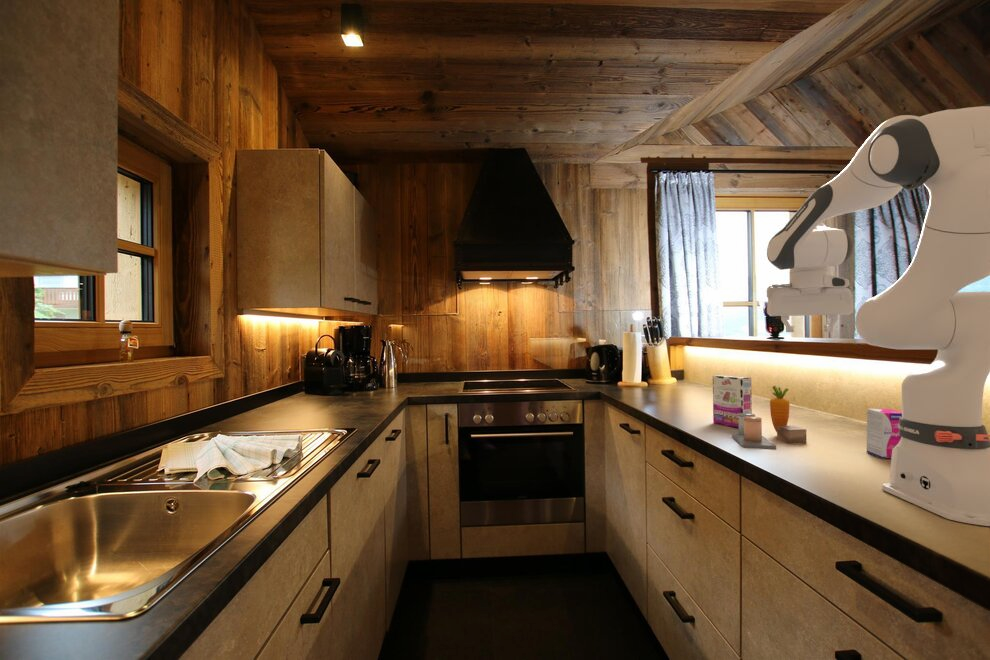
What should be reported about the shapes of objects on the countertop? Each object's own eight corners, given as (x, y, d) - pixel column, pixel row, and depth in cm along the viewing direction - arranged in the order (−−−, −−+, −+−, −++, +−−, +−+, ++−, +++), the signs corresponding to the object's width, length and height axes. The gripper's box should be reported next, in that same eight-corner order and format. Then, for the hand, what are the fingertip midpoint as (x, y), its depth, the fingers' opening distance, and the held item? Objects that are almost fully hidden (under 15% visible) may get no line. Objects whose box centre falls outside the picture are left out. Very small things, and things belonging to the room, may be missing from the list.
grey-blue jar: (757, 436, 135) (757, 415, 135) (742, 435, 136) (742, 414, 136) (751, 433, 139) (751, 413, 139) (736, 432, 140) (736, 412, 140)
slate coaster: (776, 448, 121) (776, 445, 121) (743, 447, 123) (743, 444, 123) (761, 438, 133) (761, 435, 133) (732, 436, 135) (731, 434, 135)
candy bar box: (753, 427, 146) (752, 377, 146) (742, 429, 144) (741, 378, 144) (722, 421, 156) (722, 374, 156) (712, 423, 154) (711, 375, 154)
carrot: (793, 436, 134) (793, 386, 134) (782, 438, 132) (781, 387, 132) (777, 433, 138) (777, 384, 138) (766, 434, 137) (765, 385, 136)
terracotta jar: (764, 441, 125) (763, 419, 125) (746, 440, 126) (746, 418, 127) (758, 438, 130) (758, 416, 130) (742, 437, 131) (741, 416, 131)
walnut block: (806, 443, 127) (806, 429, 127) (789, 444, 126) (789, 429, 126) (793, 439, 132) (793, 425, 132) (777, 439, 131) (776, 426, 131)
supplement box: (882, 459, 111) (882, 412, 111) (865, 452, 116) (865, 408, 116) (908, 459, 110) (908, 412, 110) (890, 453, 116) (889, 408, 116)
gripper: (770, 282, 126) (770, 332, 126) (856, 279, 120) (857, 331, 120) (763, 284, 132) (763, 332, 132) (844, 282, 126) (845, 331, 127)
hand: (808, 332), depth 126 cm, fingers open, 8 cm apart
